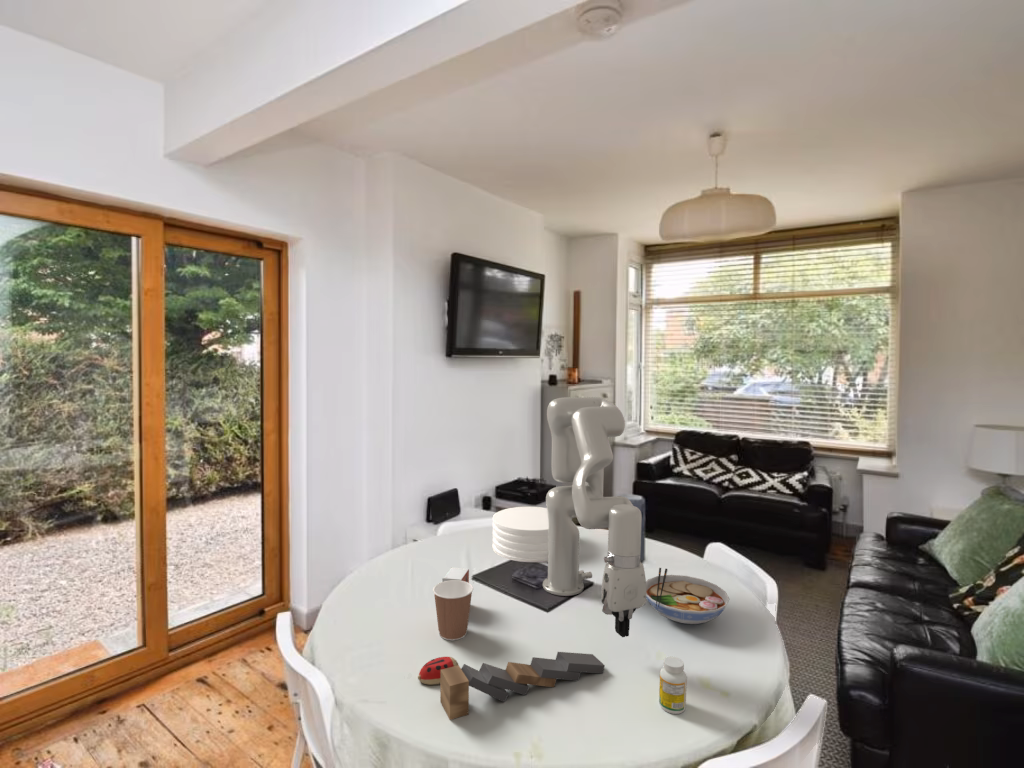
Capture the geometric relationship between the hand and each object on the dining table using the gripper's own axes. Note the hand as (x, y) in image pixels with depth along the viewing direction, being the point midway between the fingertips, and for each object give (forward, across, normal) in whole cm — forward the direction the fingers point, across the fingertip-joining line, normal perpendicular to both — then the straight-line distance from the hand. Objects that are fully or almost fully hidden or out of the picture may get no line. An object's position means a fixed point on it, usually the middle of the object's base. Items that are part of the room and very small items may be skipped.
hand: (622, 633), depth 130 cm
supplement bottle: (+7, 0, -18) cm, 19 cm away
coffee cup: (+7, -33, +27) cm, 43 cm away
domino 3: (+6, -19, 0) cm, 20 cm away
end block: (+6, -42, -1) cm, 42 cm away
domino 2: (+6, -26, 0) cm, 27 cm away
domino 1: (+6, -31, -1) cm, 32 cm away
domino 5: (+6, -7, 0) cm, 9 cm away
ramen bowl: (+7, +28, +11) cm, 31 cm away
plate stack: (+7, +12, +75) cm, 76 cm away
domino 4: (+6, -13, 0) cm, 14 cm away
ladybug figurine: (+7, -42, +11) cm, 43 cm away
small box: (+7, -28, +39) cm, 49 cm away
